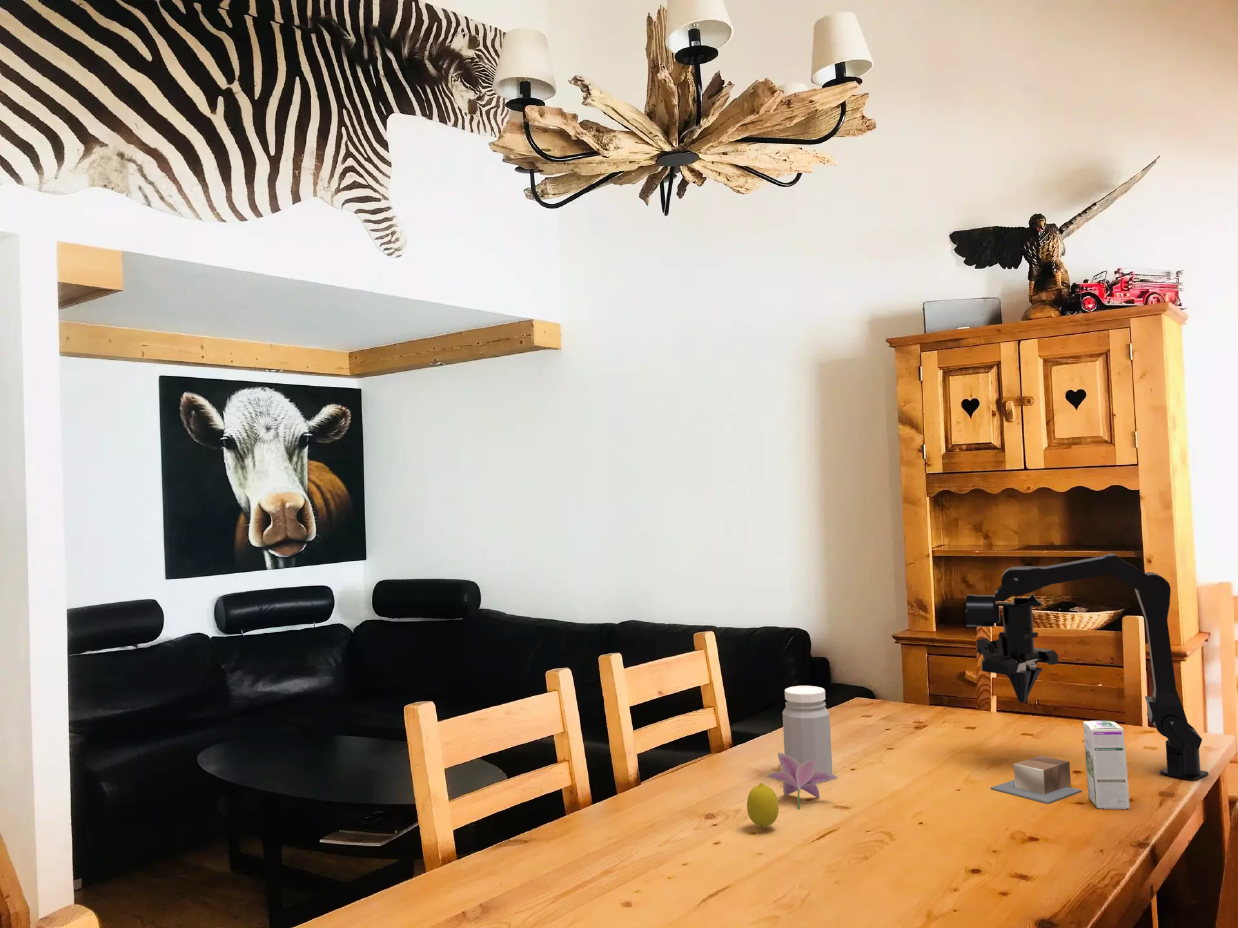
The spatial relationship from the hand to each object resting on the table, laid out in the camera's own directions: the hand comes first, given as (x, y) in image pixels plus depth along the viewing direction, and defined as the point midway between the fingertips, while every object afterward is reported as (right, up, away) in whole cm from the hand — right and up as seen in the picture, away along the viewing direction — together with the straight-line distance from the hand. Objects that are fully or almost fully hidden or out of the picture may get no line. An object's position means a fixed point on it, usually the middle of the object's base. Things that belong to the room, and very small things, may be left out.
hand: (1022, 702), depth 202 cm
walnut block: (+1, -10, -13) cm, 17 cm away
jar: (-45, -15, -2) cm, 48 cm away
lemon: (-59, -15, -32) cm, 69 cm away
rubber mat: (-4, -13, -17) cm, 22 cm away
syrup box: (+5, -12, -27) cm, 30 cm away
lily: (-50, -15, -18) cm, 55 cm away
